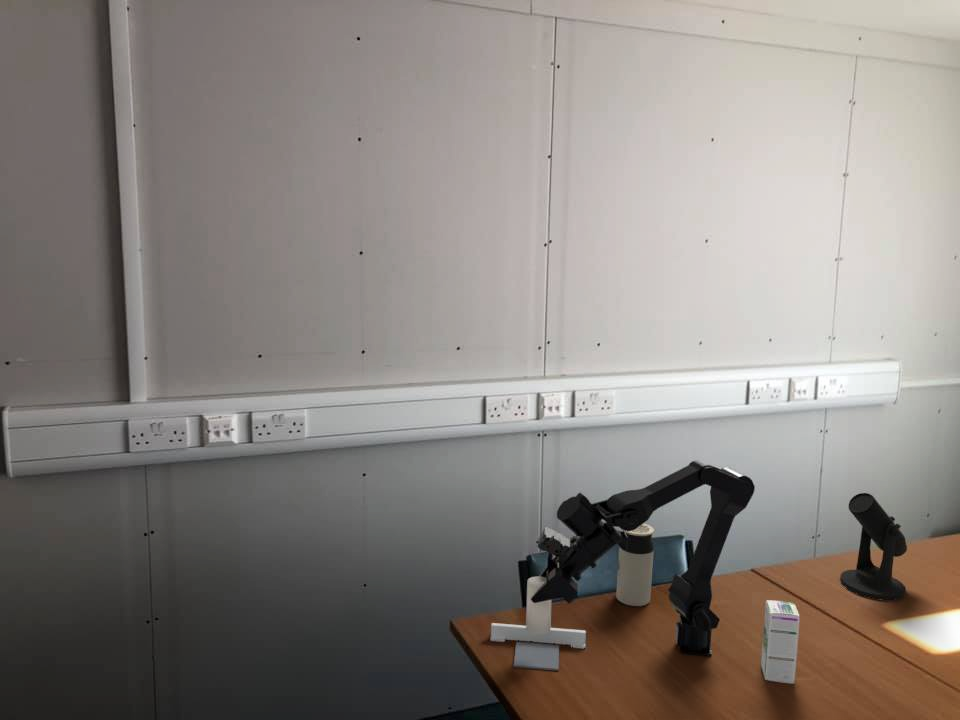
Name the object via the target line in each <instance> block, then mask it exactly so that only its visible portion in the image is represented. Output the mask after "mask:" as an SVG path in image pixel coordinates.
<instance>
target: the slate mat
mask: <svg viewBox="0 0 960 720" xmlns="http://www.w3.org/2000/svg"><path fill="white" fill-rule="evenodd" d="M514 649H515V651H514V657H513V659H514V660H513V668H521V669H533V670H546V671H559V669H560V663H559V662H560V644H551V643H539V642H527V641H516V643H515V648H514Z"/></svg>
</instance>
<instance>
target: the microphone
mask: <svg viewBox="0 0 960 720" xmlns="http://www.w3.org/2000/svg"><path fill="white" fill-rule="evenodd" d="M848 510H849V511H850V513H851V514H852V516H853V517H854V518H855V519H856V520H857V522H858V523H859V524H860V525H861V533H860V539H859V540H860V541H859V548H858V554H857V555H858V556H857V560H856V562H857V563H856V565H855V567H856V568H855V569H847V570H844V571H842V572H841V574H840V577H839V582H840V581H841V583H840V585H841V586H842V585H843V586H845V587H846V588H847V589H849V590H851V591H852V592H851V591H850V592H851V593H853V592H854V593H853V594H855V593H857V594H856V595H858V594H859V595H858V596H860V595H862V596H861V597H863V596H865V597H864V598H867V597H870V598H869V599H871V598H874V599H873V600H876V599H882V600H881V601H884V600H894V601H896V600H895V599H899V598H902V597H904V598H905V596H906V592H907V589H906V586H905V584H903V582H901V581H900V580H898V579H896V578H895V577H893V566H894V559H895V558H896V557H901V556H903V555H904V554H905V553H906V552H907V551H908V545H907V541H906V537H905V535H904V534H903V533H902V531H901V530H900V529H901V527H902V526H901V525H900V524H899V523H895V522H894V521H895V520H896V518H895V517H894V516H890V515H888V513H887V511H885V509H883V507H882V506H881V504H880V503H879V502H878V501H877V500H876V498H875V497H874V496H873V495H872V494H870V493H866V492H862V493H861V492H860V493H858V494H855V495H853V496H852V498H851V499H850V500H849V503H848ZM872 541H873V543H874V544H875V546H876V547H877V548H879V549H880V551H882V558H881V562H880V566H879V567H878V566H876V565H875V564H874V563H873V561H872V557H871V546H872V545H871V543H872ZM843 586H842V587H843ZM845 587H844V588H845ZM846 588H845V589H846ZM847 589H846V590H847ZM849 590H848V591H849ZM904 595H905V596H904ZM902 599H903V598H902ZM899 600H900V599H899Z"/></svg>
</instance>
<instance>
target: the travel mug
mask: <svg viewBox="0 0 960 720" xmlns="http://www.w3.org/2000/svg"><path fill="white" fill-rule="evenodd" d="M622 531H625V530H622ZM654 531H655V529H654V528H653V527H652V526H651V525H649V524H646V523H643V524H642V525H641V526H639V527H638V528H637V529H635V530H632V531H625V533H626V535H627V537H628V539H627V549H626V550H623V549H622V548H621V547H620V546H619V545H618V547H619V548H618V560H617V561H618V565H617V580H616V581H617V582H616V592H615V593H616V594H615V597H616V599H617V600H618V602H620V603H621V604H625V605H626V606H630V607H642V606H647V604H649V603H650V602H651V590H652V579H653V577H652V576H653V564H654V549H655V548H654V547H655V542H654V540H653V537H652V536H653V534H654Z"/></svg>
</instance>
